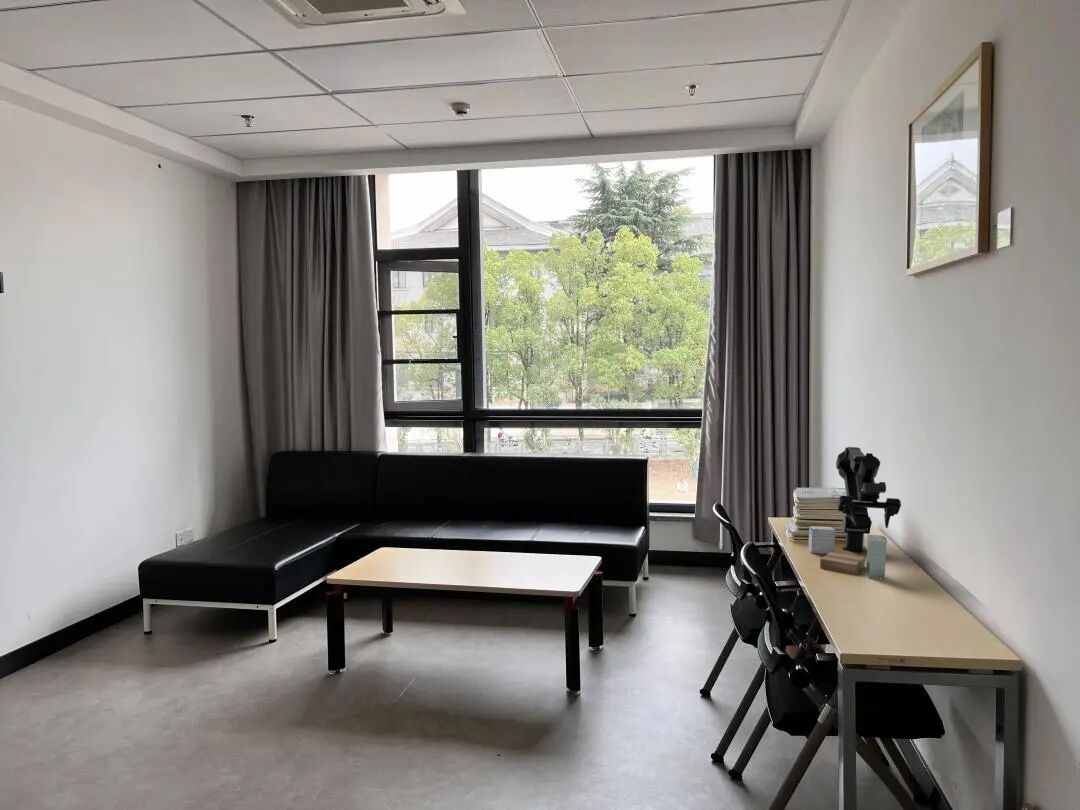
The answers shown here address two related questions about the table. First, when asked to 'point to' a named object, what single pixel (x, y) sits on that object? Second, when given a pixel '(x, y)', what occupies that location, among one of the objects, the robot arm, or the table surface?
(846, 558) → the plinth
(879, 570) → the tea tin
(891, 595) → the table surface
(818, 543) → the medicine box
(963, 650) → the table surface
